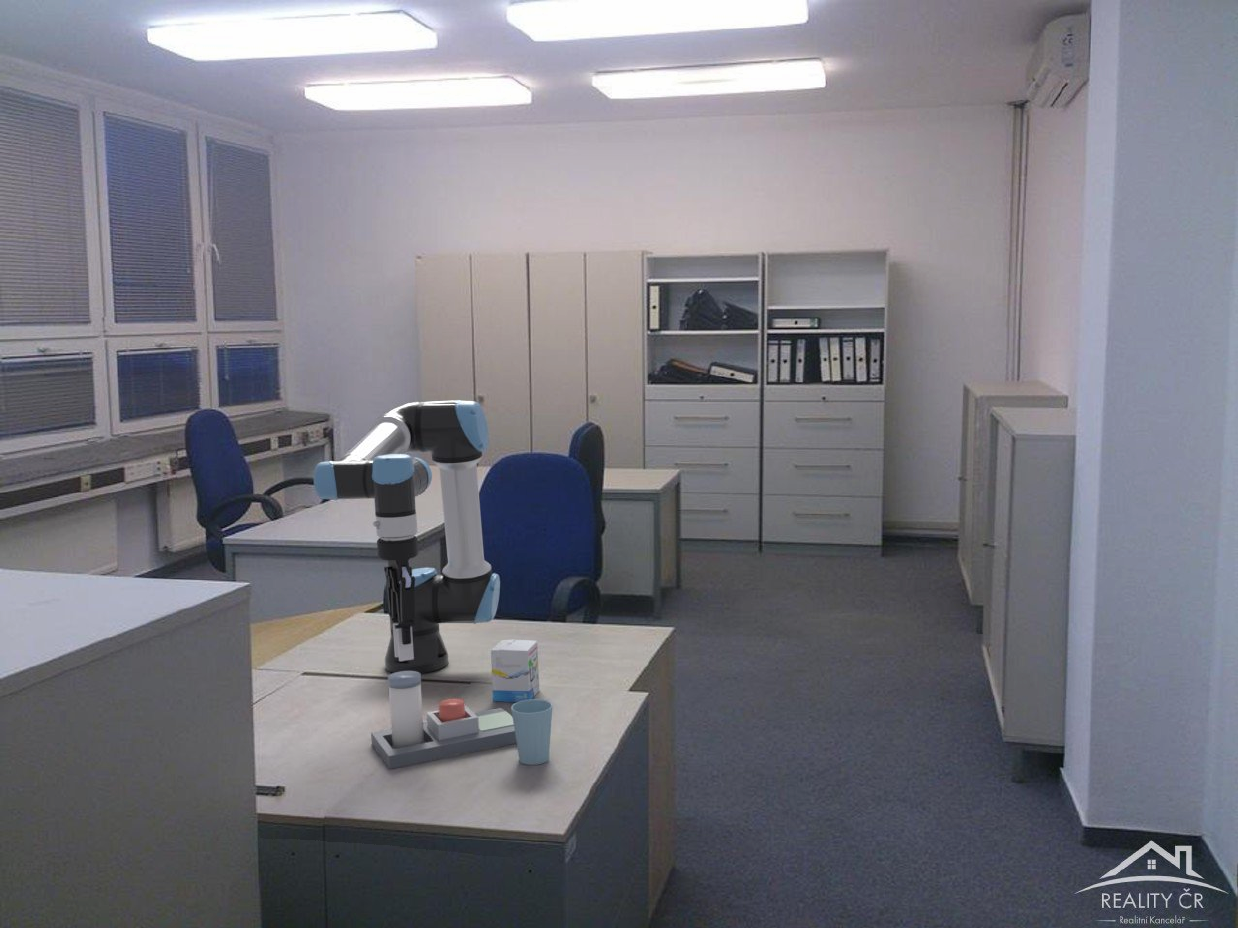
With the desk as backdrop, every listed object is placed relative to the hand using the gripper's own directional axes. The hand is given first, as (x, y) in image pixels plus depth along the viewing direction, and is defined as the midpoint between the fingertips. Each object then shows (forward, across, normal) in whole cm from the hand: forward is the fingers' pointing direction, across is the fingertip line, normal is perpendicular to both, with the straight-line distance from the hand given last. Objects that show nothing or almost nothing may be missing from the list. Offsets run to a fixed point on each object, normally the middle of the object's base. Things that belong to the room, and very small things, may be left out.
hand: (404, 657), depth 211 cm
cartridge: (+19, 0, 0) cm, 19 cm away
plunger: (+16, 0, +9) cm, 18 cm away
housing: (+18, 0, +8) cm, 20 cm away
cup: (+19, +16, +19) cm, 32 cm away
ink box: (+19, -20, +29) cm, 40 cm away
